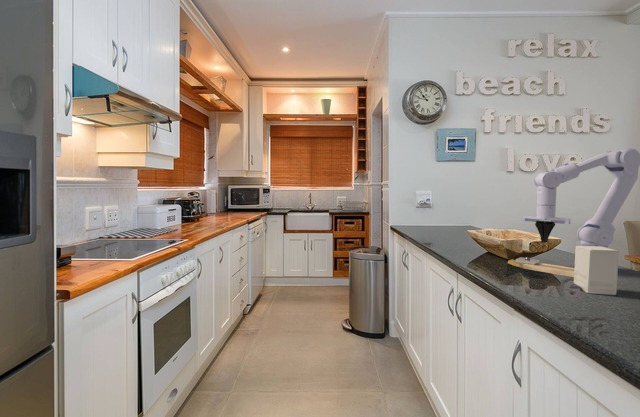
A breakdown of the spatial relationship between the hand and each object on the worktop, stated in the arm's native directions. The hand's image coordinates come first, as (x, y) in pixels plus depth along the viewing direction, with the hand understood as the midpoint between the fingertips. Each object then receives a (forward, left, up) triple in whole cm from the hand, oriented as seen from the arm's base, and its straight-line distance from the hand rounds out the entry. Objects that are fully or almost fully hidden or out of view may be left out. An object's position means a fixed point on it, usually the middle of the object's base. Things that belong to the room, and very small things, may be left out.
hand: (544, 242), depth 120 cm
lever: (+6, -4, -9) cm, 12 cm away
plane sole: (+6, +5, -10) cm, 12 cm away
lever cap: (+6, -3, -7) cm, 10 cm away
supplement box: (+18, +18, -10) cm, 27 cm away
